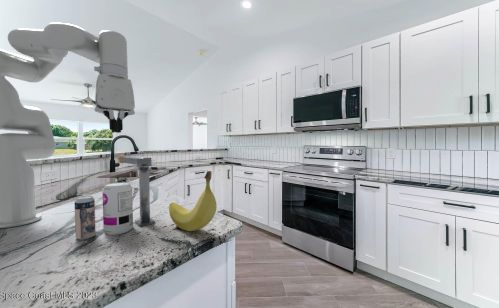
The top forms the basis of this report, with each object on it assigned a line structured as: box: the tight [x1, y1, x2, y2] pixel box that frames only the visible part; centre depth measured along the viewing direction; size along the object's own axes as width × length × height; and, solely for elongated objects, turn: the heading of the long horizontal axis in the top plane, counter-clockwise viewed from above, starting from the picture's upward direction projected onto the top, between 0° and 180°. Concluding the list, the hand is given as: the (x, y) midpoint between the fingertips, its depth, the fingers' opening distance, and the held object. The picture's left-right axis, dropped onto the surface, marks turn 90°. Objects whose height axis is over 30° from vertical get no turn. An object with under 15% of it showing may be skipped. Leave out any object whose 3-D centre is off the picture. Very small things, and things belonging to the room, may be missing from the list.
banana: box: [168, 170, 217, 232], centre depth 71 cm, size 23×6×20 cm, turn 50°
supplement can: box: [102, 181, 134, 236], centre depth 71 cm, size 8×8×15 cm
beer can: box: [74, 195, 97, 241], centre depth 66 cm, size 5×5×12 cm
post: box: [134, 166, 156, 227], centre depth 78 cm, size 5×5×20 cm
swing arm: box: [117, 154, 153, 168], centre depth 85 cm, size 27×5×3 cm, turn 47°
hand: (116, 132), depth 70 cm, fingers closed
